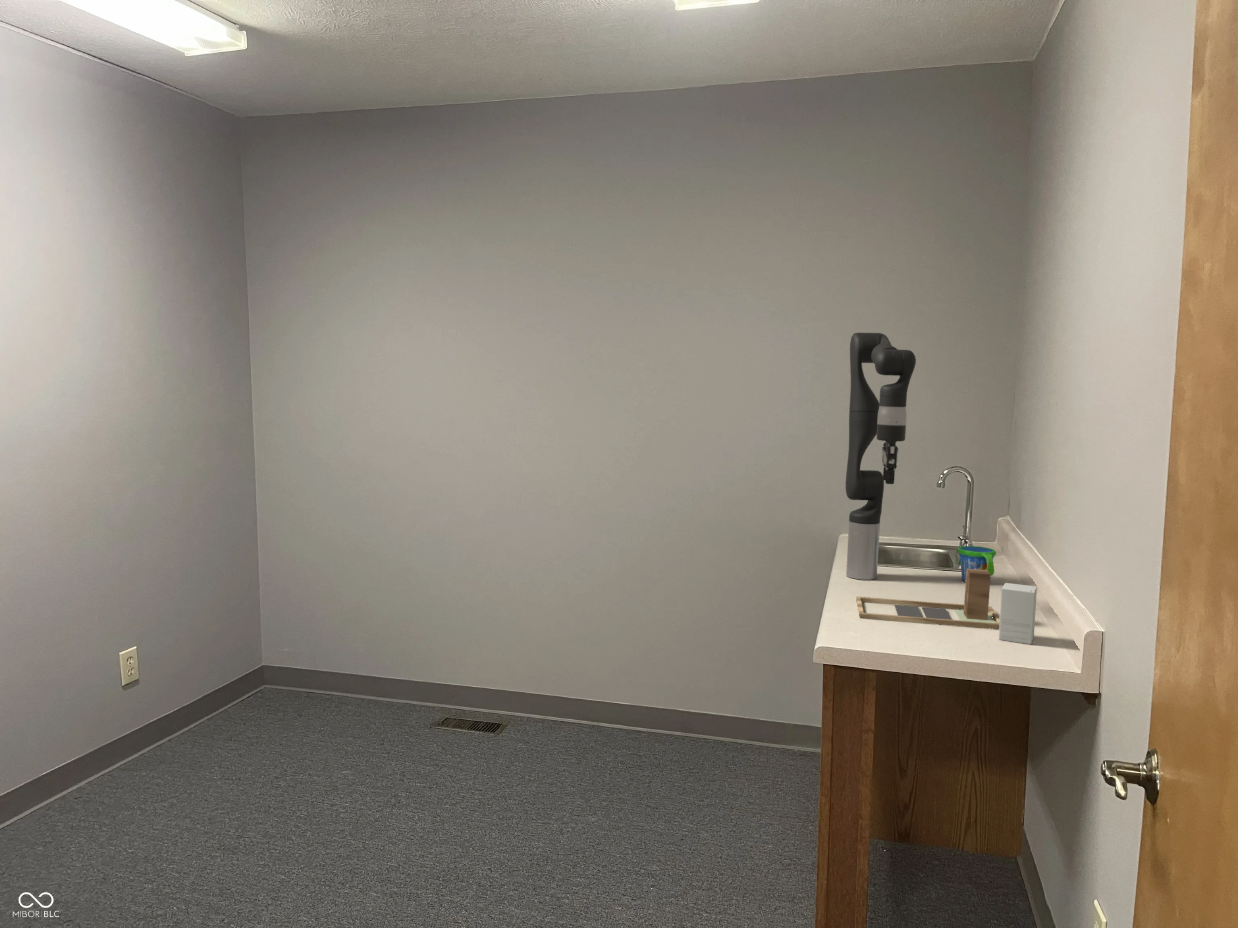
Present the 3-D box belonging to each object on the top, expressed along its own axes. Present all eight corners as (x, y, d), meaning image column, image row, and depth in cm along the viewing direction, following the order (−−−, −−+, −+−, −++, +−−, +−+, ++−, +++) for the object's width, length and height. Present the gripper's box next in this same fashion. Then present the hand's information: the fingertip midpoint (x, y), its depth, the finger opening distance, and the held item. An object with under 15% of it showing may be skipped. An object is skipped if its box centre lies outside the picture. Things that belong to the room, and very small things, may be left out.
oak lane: (856, 600, 241) (856, 596, 241) (991, 610, 233) (991, 606, 233) (859, 617, 223) (859, 613, 223) (1005, 629, 216) (1005, 625, 216)
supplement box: (1034, 637, 210) (1038, 586, 209) (1031, 645, 204) (1035, 592, 203) (1001, 632, 214) (1005, 581, 213) (997, 639, 208) (1001, 587, 206)
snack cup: (947, 575, 275) (949, 543, 274) (979, 575, 276) (981, 544, 275) (969, 587, 260) (971, 553, 259) (1003, 587, 260) (1006, 554, 259)
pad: (954, 610, 233) (954, 609, 233) (988, 613, 231) (988, 612, 231) (961, 623, 221) (961, 621, 221) (997, 625, 219) (997, 624, 219)
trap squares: (894, 606, 236) (894, 604, 236) (945, 610, 233) (945, 608, 233) (899, 618, 224) (899, 616, 224) (952, 622, 221) (952, 620, 221)
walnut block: (963, 613, 229) (966, 568, 228) (983, 614, 228) (986, 570, 226) (966, 618, 224) (969, 572, 223) (987, 620, 223) (990, 574, 222)
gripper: (908, 425, 230) (905, 486, 231) (903, 422, 243) (900, 479, 245) (879, 424, 231) (875, 484, 233) (875, 421, 245) (872, 478, 247)
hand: (888, 482), depth 239 cm, fingers open, 8 cm apart
